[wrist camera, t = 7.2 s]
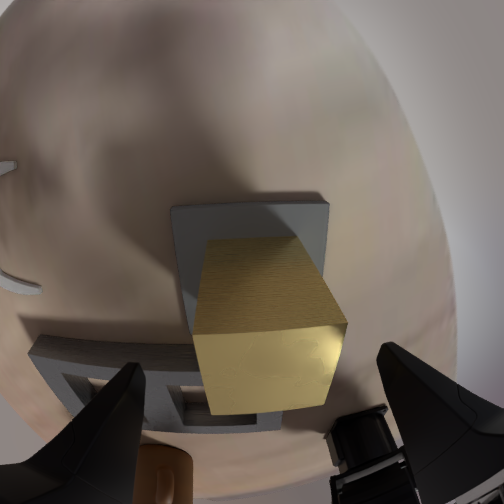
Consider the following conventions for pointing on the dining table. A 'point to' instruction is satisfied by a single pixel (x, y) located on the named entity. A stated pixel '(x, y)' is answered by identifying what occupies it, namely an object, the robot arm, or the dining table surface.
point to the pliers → (3, 279)
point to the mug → (163, 476)
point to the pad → (242, 234)
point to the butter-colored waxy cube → (265, 327)
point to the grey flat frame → (157, 383)
